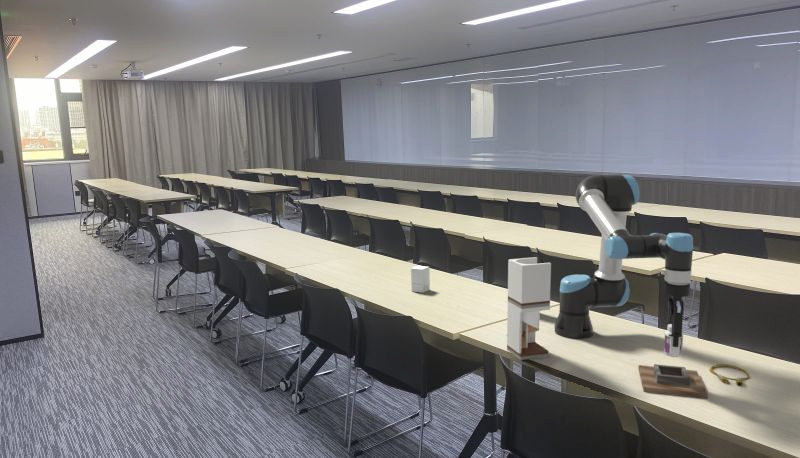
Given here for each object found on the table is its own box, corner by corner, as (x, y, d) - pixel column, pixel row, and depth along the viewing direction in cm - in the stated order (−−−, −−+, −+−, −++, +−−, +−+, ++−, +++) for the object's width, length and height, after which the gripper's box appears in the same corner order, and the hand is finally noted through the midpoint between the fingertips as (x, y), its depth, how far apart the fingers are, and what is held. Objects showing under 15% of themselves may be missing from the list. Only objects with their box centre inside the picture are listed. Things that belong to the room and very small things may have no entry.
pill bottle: (666, 350, 188) (667, 322, 186) (683, 353, 185) (685, 325, 183) (661, 355, 184) (663, 326, 182) (679, 359, 181) (681, 329, 179)
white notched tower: (520, 360, 207) (522, 265, 201) (506, 349, 217) (508, 259, 211) (548, 356, 210) (551, 263, 204) (533, 346, 220) (535, 257, 214)
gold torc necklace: (700, 377, 191) (700, 372, 190) (718, 364, 201) (718, 359, 201) (740, 389, 182) (740, 383, 181) (757, 375, 192) (757, 369, 192)
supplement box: (430, 289, 303) (430, 266, 301) (423, 293, 296) (423, 269, 294) (418, 288, 307) (417, 265, 305) (411, 291, 300) (410, 267, 298)
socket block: (638, 369, 197) (639, 358, 196) (696, 374, 192) (697, 363, 191) (643, 391, 180) (644, 379, 180) (707, 398, 175) (708, 386, 174)
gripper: (660, 274, 190) (656, 341, 194) (668, 288, 173) (663, 361, 177) (685, 276, 188) (681, 343, 192) (695, 290, 171) (690, 364, 174)
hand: (672, 352), depth 184 cm, fingers closed on pill bottle, 5 cm apart
